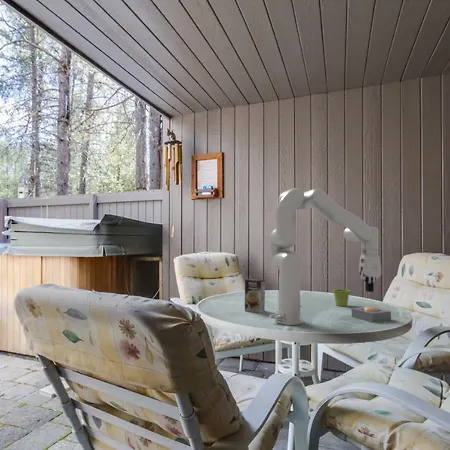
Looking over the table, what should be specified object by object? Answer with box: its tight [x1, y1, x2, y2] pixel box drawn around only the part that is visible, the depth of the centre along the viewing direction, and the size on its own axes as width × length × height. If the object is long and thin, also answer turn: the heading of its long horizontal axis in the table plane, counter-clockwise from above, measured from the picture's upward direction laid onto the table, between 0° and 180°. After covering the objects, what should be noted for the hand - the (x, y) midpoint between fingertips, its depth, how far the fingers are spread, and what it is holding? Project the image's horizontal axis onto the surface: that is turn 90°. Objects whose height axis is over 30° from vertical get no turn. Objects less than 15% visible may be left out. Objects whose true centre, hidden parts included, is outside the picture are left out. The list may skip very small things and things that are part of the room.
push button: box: [363, 306, 379, 312], centre depth 149 cm, size 6×6×3 cm
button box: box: [351, 306, 392, 323], centre depth 149 cm, size 12×12×4 cm
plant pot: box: [332, 288, 351, 307], centre depth 180 cm, size 9×9×9 cm
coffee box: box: [244, 278, 266, 314], centre depth 164 cm, size 9×6×16 cm
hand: (369, 291), depth 150 cm, fingers closed
